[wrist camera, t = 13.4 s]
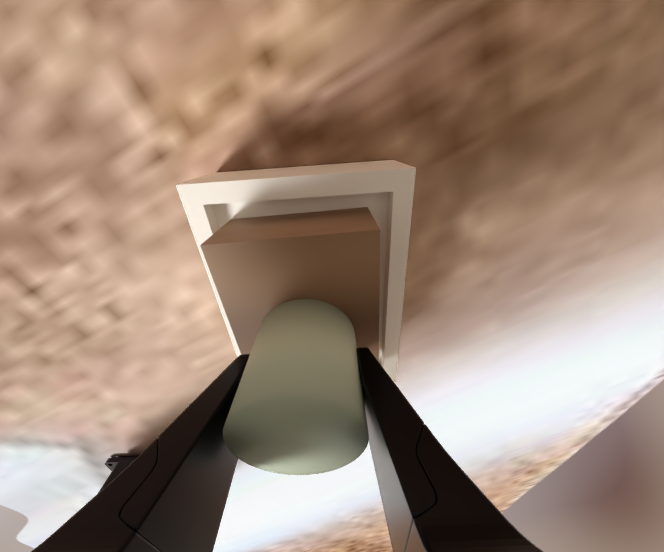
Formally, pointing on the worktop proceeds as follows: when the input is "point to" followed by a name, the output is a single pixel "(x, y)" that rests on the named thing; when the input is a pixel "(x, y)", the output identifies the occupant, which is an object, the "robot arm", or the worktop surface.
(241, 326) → the lid
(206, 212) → the box base
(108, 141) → the worktop surface
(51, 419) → the worktop surface
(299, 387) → the knob
